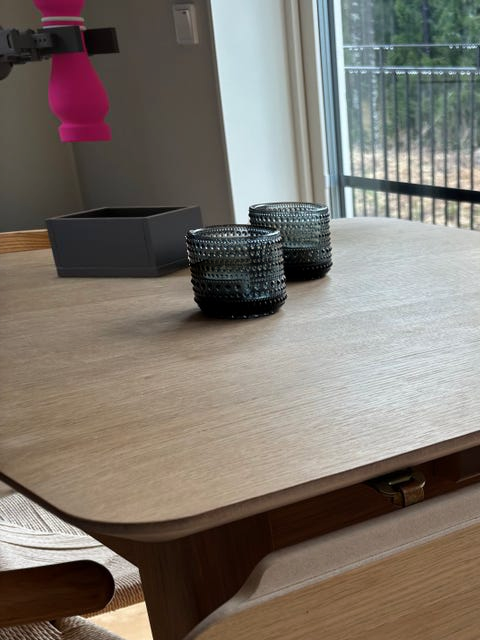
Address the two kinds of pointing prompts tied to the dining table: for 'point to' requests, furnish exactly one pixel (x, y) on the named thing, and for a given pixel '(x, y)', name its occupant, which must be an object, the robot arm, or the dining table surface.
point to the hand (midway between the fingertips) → (97, 39)
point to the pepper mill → (74, 80)
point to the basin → (122, 241)
